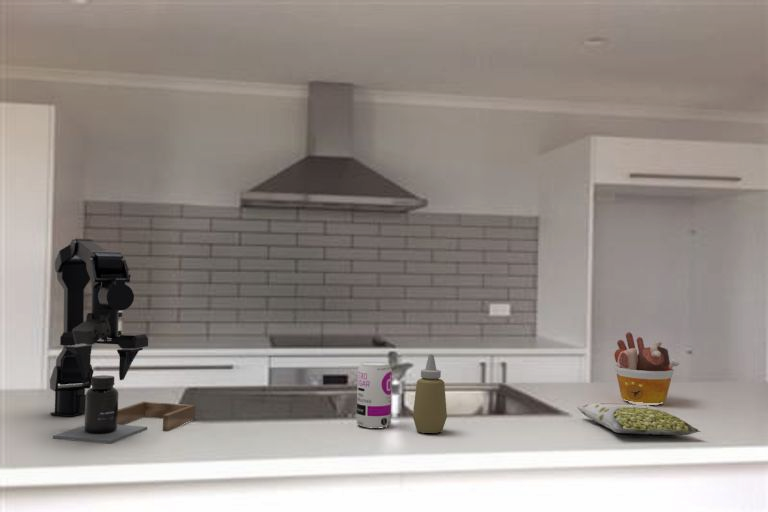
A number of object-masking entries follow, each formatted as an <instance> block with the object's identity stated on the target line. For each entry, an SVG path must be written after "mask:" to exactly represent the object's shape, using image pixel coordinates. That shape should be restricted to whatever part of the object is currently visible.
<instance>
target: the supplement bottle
mask: <svg viewBox="0 0 768 512" xmlns="http://www.w3.org/2000/svg"><path fill="white" fill-rule="evenodd" d="M114 386H115V376H114V375H107V374H106V375H104V374H103V375H102V374H101V375H94V376H93V375H92V378H91V387H90V389H88V390H87V391H86V392H85V395H86V402H85V413H84V425H85V426H84V425H83V426H84V429H85V431H86V432H87V433H92V434H104V433H111V432H114V431H116V429H117V420H118V409H119V397H120V395H119V390H118V389H117V388H116V387H114Z"/></svg>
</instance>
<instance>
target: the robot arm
mask: <svg viewBox="0 0 768 512" xmlns="http://www.w3.org/2000/svg"><path fill="white" fill-rule="evenodd" d="M54 271H55V273H56V279H57V282H59V284H60V285H61V287H62V289H63V333H62V334H61V335H60V338H59V339H60V340H59V345H60V346H63V347H62V350H61V352H59V354H58V355H57V357H56V359H55V366H54V368H53V369H52V374H51V376H50V379H49V389H50V390H52V391H53V392H54V397H55V398H54V411H51V412H50V413H49V415H51V416H61V417H62V416H63V417H75V416H79V415H82V414H85V402H86V389H88V390H89V389H91V388H92V386H91V378H92V377H93V375H94V369H93V365H92V364H91V361H92V359H91V358H92V357H91V355H92V350H93V349H92V348H93V345H94V344H100V345H101V344H102V345H118V347H119V349H116V352H117V354H118V356H119V367H118V369H119V370H118V376H119V381H124V379H125V378H126V376H127V373H128V372H129V369H130V368H131V365H132V363H133V361H134V360H135V358H136V356H137V355H138V353H139V352H140V351H143V349H144V348H147V347H149V338H148V336H147V335H146V333H125V334H122V330H119V318H122V317H123V312H122V311H125V310H128V309H129V308H130V307H131V306H132V304H133V303H134V300H135V294H134V292H133V291H134V290H132V288H131V287H130V286H129V285H127V284H126V283H130V282H131V276H132V275H131V271H130V269H129V265H128V262H127V261H126V258H125V257H124V255H123V254H122V252H121V251H114V250H113V251H111V250H105V249H104V248H102V247H101V246H100V245H99V244H97V243H96V241H95V240H93V239H91V238H74V239H72V240H70V244H68V245H67V246H64V247H63V248H62V249H60V250H59V251H58V253H57V255H56V258H55V262H54ZM90 281H91V305H90V307H91V309H90V310H91V311H90V312H87V314H86V318H85V316H84V314H85V312H84V308H85V306H84V305H85V304H84V303H85V301H84V299H85V298H84V297H85V295H84V293H85V288H86V287H87V285H88V284H89V283H90ZM120 311H121V312H120ZM84 318H85V319H86V320H85V319H84ZM84 320H85V321H84Z"/></svg>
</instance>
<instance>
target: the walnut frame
mask: <svg viewBox="0 0 768 512" xmlns="http://www.w3.org/2000/svg"><path fill="white" fill-rule="evenodd" d="M142 417H143V418H152V417H155V419H162V431H163V432H168V431H171V430H174V429H177V428H178V426H179V427H180V425H181V426H183V425H182V424H184V423H186V422H188V421H191V420H193V421H195V420H196V405H195V404H182V403H181V404H180V403H169V402H154V401H141V402H138V403H134V404H132V405H128V406H125V407H121V408H118V420H117V424H119V425H127V424H128V423H131V421H132V422H134V420H135V421H137V419H138V420H140V419H142ZM139 418H140V419H139ZM191 422H192V421H191ZM188 423H189V422H188ZM186 424H187V423H186ZM184 425H185V424H184Z"/></svg>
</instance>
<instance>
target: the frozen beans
mask: <svg viewBox="0 0 768 512" xmlns="http://www.w3.org/2000/svg"><path fill="white" fill-rule="evenodd" d="M576 408H577V409H578V410H579V412H581V414H583V415H584V416H585V417H587V418H588V419H591V420H592V421H594V422H595V423H598V424H600V425H602V426H604V427H606V428H607V429H610V430H611V431H612V432H615V433H617V434H628V435H629V434H631V435H632V434H633V435H649V434H652V435H653V436H654V435H656V436H658V435H661V436H664V435H665V436H687V435H692V434H695V433H701V430H699V429H698V428H696V427H694V426H692V425H691V424H689V423H688V422H686V421H685V420H683V419H681V418H680V417H678V416H675V415H673V414H670V413H668V412H666V411H664V410H662V409H659V408H656V407H655V406H647V405H636V404H630V403H593V404H592V403H591V404H585V405H582V406H578V407H576Z"/></svg>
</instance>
